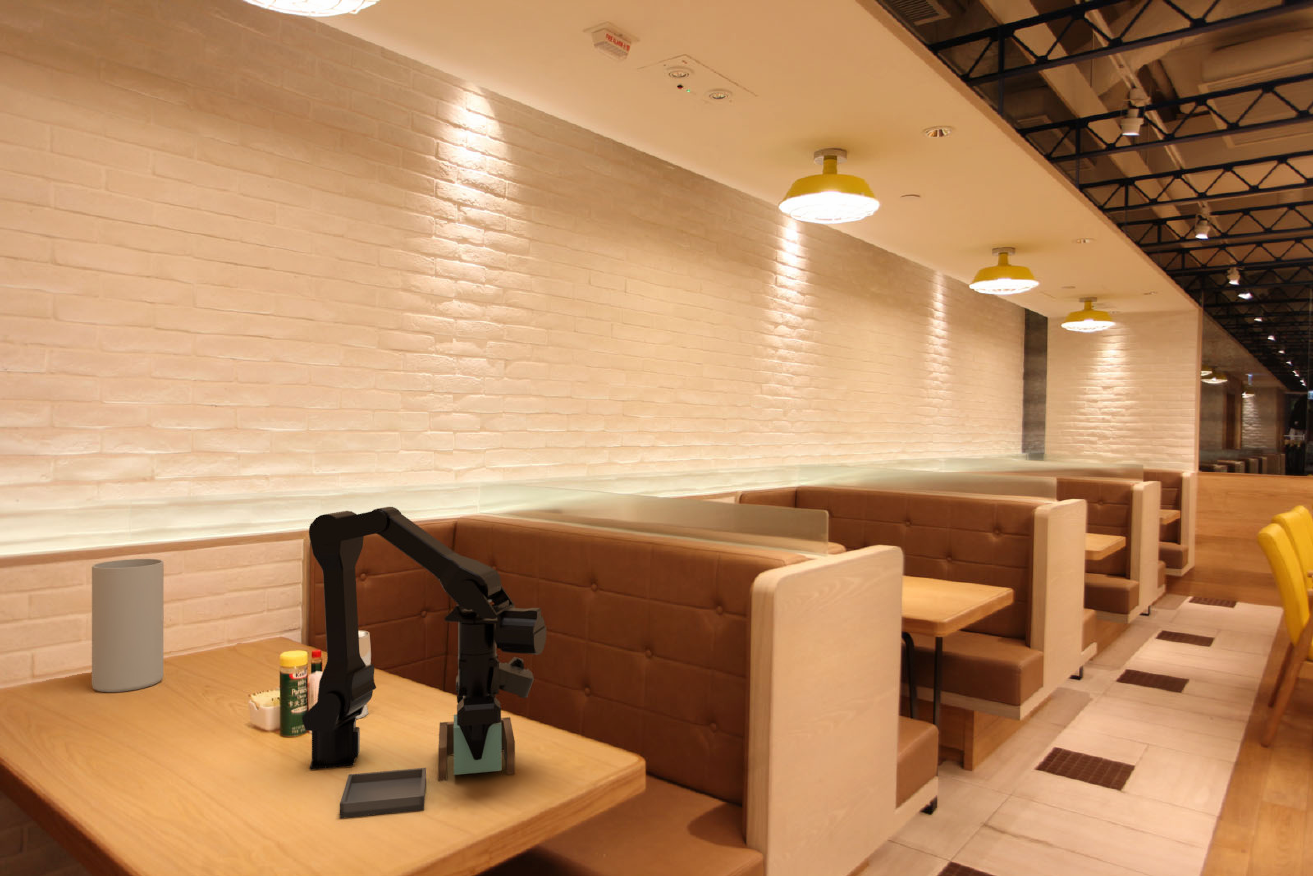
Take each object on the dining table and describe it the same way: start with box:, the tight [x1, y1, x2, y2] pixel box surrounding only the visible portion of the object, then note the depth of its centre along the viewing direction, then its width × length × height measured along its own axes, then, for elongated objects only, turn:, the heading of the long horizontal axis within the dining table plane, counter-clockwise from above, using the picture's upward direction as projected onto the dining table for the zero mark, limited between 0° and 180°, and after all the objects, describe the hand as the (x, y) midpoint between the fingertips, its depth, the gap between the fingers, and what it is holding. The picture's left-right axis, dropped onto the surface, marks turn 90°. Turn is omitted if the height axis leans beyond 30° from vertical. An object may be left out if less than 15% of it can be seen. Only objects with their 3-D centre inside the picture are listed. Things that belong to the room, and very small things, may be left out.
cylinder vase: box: [91, 558, 165, 693], centre depth 172 cm, size 12×12×25 cm
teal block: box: [453, 714, 502, 776], centre depth 127 cm, size 7×6×7 cm
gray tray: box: [339, 767, 427, 820], centre depth 119 cm, size 11×10×2 cm
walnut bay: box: [437, 716, 516, 782], centre depth 132 cm, size 11×11×5 cm
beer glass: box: [356, 629, 372, 720], centre depth 154 cm, size 7×7×15 cm
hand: (477, 751), depth 127 cm, fingers closed on teal block, 6 cm apart
